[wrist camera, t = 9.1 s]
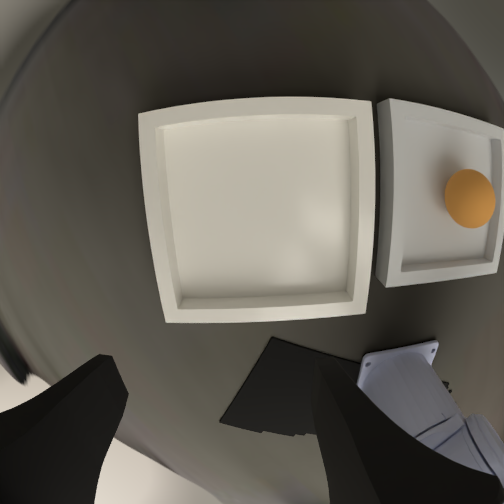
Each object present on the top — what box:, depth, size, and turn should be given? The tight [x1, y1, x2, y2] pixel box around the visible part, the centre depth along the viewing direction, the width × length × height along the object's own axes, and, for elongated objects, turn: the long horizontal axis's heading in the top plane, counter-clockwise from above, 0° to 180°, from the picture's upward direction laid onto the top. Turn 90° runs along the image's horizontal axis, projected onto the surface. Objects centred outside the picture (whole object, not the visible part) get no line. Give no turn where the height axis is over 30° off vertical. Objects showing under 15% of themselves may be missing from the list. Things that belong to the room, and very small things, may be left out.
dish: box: [138, 97, 375, 323], centre depth 16 cm, size 13×13×2 cm
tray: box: [375, 98, 504, 287], centre depth 15 cm, size 12×12×2 cm
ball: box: [445, 169, 495, 229], centre depth 14 cm, size 4×4×4 cm
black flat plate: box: [220, 337, 452, 436], centre depth 24 cm, size 12×1×30 cm
